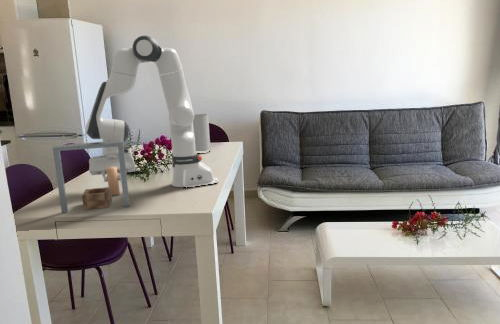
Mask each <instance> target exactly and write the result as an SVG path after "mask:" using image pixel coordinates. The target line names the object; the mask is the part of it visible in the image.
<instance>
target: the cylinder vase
mask: <svg viewBox="0 0 500 324" xmlns="http://www.w3.org/2000/svg"><path fill="white" fill-rule="evenodd" d="M209 120H210V119H209V114H208V113H207V114H206V113H197V114H195V113H194V120H193V128H194V136H195V148H196V151H206V150H210V151H211V139H210V138H211V137H210V125H209V124H210V123H209Z"/></svg>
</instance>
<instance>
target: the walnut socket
mask: <svg viewBox="0 0 500 324" xmlns="http://www.w3.org/2000/svg"><path fill="white" fill-rule="evenodd" d="M112 196H113V195H111V187H108V186H106V187H96V188H86V189H85V190H84V192H83V193H82V195H81V198H82V205H83V210H85V211H86V210H87V211H88V210H96V209H104V208H110V207H111V205H112V201H113V197H112Z"/></svg>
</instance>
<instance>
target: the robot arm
mask: <svg viewBox="0 0 500 324" xmlns="http://www.w3.org/2000/svg"><path fill="white" fill-rule="evenodd" d="M114 54H115V55H114V57H113V60H112V64H111V70H110V74H109V77H108V78H107V80H106V81H103V82H102V83H101V84H100V87H99V89H98V91H97V95H96V97H95V100H94V103H93V106H92V110H91V113H90V114H89V118H88V120H87V122H86V125H85V133H86V135H87V136H88V137H89V138H90V139H92V140H102V142H108V141H122V140H124V143H126V141H127V140H128V139H129V131H130V130H129V124H128V123H127V122H126V121H125V120H120V119H113V118H107V117H106V118H105V117H102V113H103V111H104V110H103V109H104V106H105V103H106V101H107V100H108V99H110V97H114V96H117V95H124V94H126V93H128V92H130V91H132V90H133V88H134V87H135V83H136V81H137V75H138V74H137V73H138V68H139V65H140V64H141V63H150V62H153V63H154V64H155V66H156V67H157V72H158V75H159V79H160V84H161V87H162V92H163V95H164V99H165V103H166V106H167V111H168V119H169V131H170V139H171V141H170V142H171V150H172V155H171V157H172V164H171V165H172V167H173V168H172V169H173V171H172V180H171V186H172V187H175V188H176V187H177V188H183V187H186V188H185V189H188V188H187V187H193V188H195V187H194V186H199V185H206V184H211V183H216V182H218V181H219V178H218V176H215V175H214V172H213V170H212V168H211V167H210V166H208V165H207V164H205V163H204V162H203V161H202V160H203V156H202V155H201V154H196V148H195V136H194V128H193V120H194V115H195V112H194V107H193V104H192V100H191V96H190V93H189V90H188V86H187V82H186V77H185V73H184V68H183V65H182V62H181V60H180V57H179V56H180V55H179V54H178V52H177V51H176V50H175V48H172V47H164V48H163V47H161V46H160V44H158V42H157V40H156V39H154V38H153V37H151V36H149V35H139V36H138V37H137V38H135V39H134V41H133V43H132V47H131V48H127V47H123V48H121V47H120V48H119V49H117V50H116V51H115V53H114ZM124 155H125V165H126V173H132V172H134V173H135V170H136V167H135V162H134V160H135V158H134V156H133V153H132V149H129V148H124ZM88 164H89V169H88V171H89V174H90V175H91V176H102V177H103V181H104V183H105V182H107V183H108V178H107V176H106V175H107V170H106V168H109V167H117V173H118V174H119V175H118V182H119V181H122V180H121V171H120V162H119V153H118V147H105V148H102V155H97V156H92V157H90V158H89V160H88ZM218 183H219V182H218ZM206 186H207V185H206Z"/></svg>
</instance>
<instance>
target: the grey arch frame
mask: <svg viewBox="0 0 500 324" xmlns="http://www.w3.org/2000/svg"><path fill="white" fill-rule="evenodd" d="M124 145H125V142H124V140H122V141H108V142H103V141H97V142H85V143H83V142H82V143H81V142H80V143H72V144H71V143H70V144H56V145H54V146H53V147H52V152H53V153H52V154H53V160H54V168H55V175H56V180H57V181H56V182H57V188H58V196H59V197H58V198H59V202H60V203H59V204H60V210H61V214H68V213H69V208H68V200H67V194H66V186H65V185H66V184H65V177H64V173H63V172H64V171H63V164H62V157H61V151H77V150H90V149H103V148H105V147H118V153H119V162H120V171H121V173H120V174H121V180H120V181H121V187H122V197H123V207H124V208H128V207H129V208H130V206H131V203H130V195H129V194H130V193H129V187H128V185H129V184H128V175H127V172H126V165H125V155H124V149H125V148H124V147H125V146H124Z"/></svg>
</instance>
